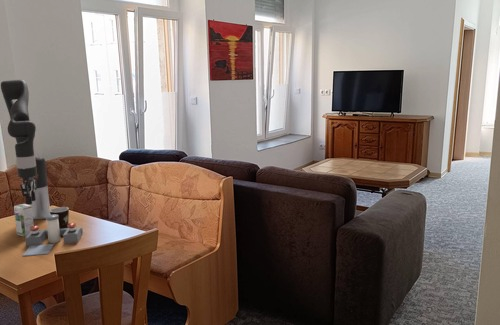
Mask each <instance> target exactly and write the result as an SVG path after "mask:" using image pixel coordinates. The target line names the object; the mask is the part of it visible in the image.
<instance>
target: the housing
mask: <svg viewBox="0 0 500 325" xmlns="http://www.w3.org/2000/svg"><path fill="white" fill-rule="evenodd" d="M59 230H60V237H63V243H64V244H70V243H78V242H79V241H80V239H81V237H82V235H83V234H84V229H83V226H77V227H75V232H72V233H69V228H62V229H59ZM47 238H48V231H47V229H40V230H39V229H38V235H33V236H32V231H31V232H30V233H29V234H28V235H27V236H25V237H24V239H25V240H24V241H25V246H26V247H30V246H35V245H43V243H44V242H45V239H47Z"/></svg>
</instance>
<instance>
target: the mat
mask: <svg viewBox="0 0 500 325" xmlns="http://www.w3.org/2000/svg"><path fill="white" fill-rule="evenodd" d="M54 245H55V243H50V244H49V243H48V244H41V245H35V246H28V247H27V249H26V250H25V252H24V253H22V257H30V256H31V257H32V256H40V255H41V256H42V255H49V253H50V251H51V250H52V249H53V247H54Z"/></svg>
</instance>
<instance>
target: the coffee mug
mask: <svg viewBox="0 0 500 325" xmlns="http://www.w3.org/2000/svg"><path fill="white" fill-rule="evenodd" d="M69 210H70V209H69V207H68V206H59V207H58V206H57V207H54V208H50V214H51V215H53V214H56V215H58V217H59V218H58V221H59V229H62V228H68V227H67V224H69V221H70V220H69V217H70V216H69V215H70V214H69V213H70V212H69Z"/></svg>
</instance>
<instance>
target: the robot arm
mask: <svg viewBox="0 0 500 325" xmlns="http://www.w3.org/2000/svg"><path fill="white" fill-rule="evenodd" d="M0 91H1V93H2V96H3V100H4V103H5V105H6V108H7V111H8V115H9V118H10V120H9V122H8V125H7V134H8V135H9V136H10V137H12V138H14V139H15V142H16V144H14V149H15V157H16V158H15V159H16V160H15V163H16V171H17V177H18V178H20V179H22V181H21V182H22V183H21V184H20V190H21V194H22V197H24V198H25V202H26V203H25V204H27V205H31V206H32V214H33V220H44V219H45V217H46V216H48V215H51V214H50V210H51V206H50V204H51V203H50V197H49V189H48V173H47V172H48V171H47V161H46V160H45V159H46V158H44V157H43V156H41V157H40V156H37V157H35V149H34V139H35V138H36V137H35V136H36V130H37V129H36V128H37V127H36V124H35V123H34V122H33V121H32V120H31V119H30V114H29V101H30V100H29V96H30V95H29V94H30V92H29V88H28V84H27V81H25V80H23V79H12V80H4V81H1V82H0ZM14 100H16V101H15V102H14ZM36 176H37V177H36Z"/></svg>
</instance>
